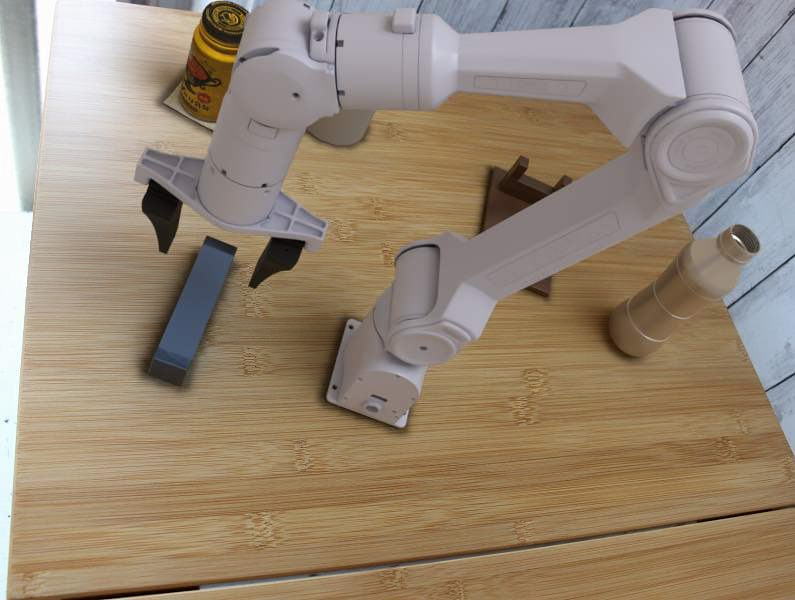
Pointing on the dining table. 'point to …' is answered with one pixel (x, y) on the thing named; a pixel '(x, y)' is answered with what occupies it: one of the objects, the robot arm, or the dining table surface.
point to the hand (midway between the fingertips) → (211, 261)
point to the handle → (192, 312)
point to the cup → (342, 126)
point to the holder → (517, 201)
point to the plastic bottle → (682, 290)
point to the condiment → (210, 63)
